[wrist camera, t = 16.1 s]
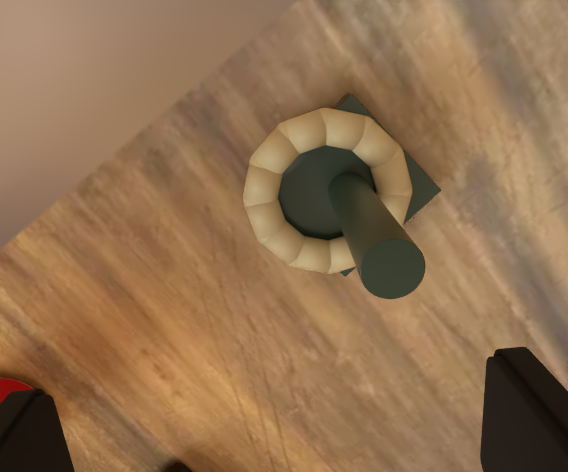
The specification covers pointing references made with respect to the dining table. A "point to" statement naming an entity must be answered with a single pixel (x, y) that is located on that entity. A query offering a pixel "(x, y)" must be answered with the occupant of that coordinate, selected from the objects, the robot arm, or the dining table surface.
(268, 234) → the bracelet
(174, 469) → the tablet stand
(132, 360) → the dining table surface
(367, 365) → the dining table surface
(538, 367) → the robot arm
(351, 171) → the stand
